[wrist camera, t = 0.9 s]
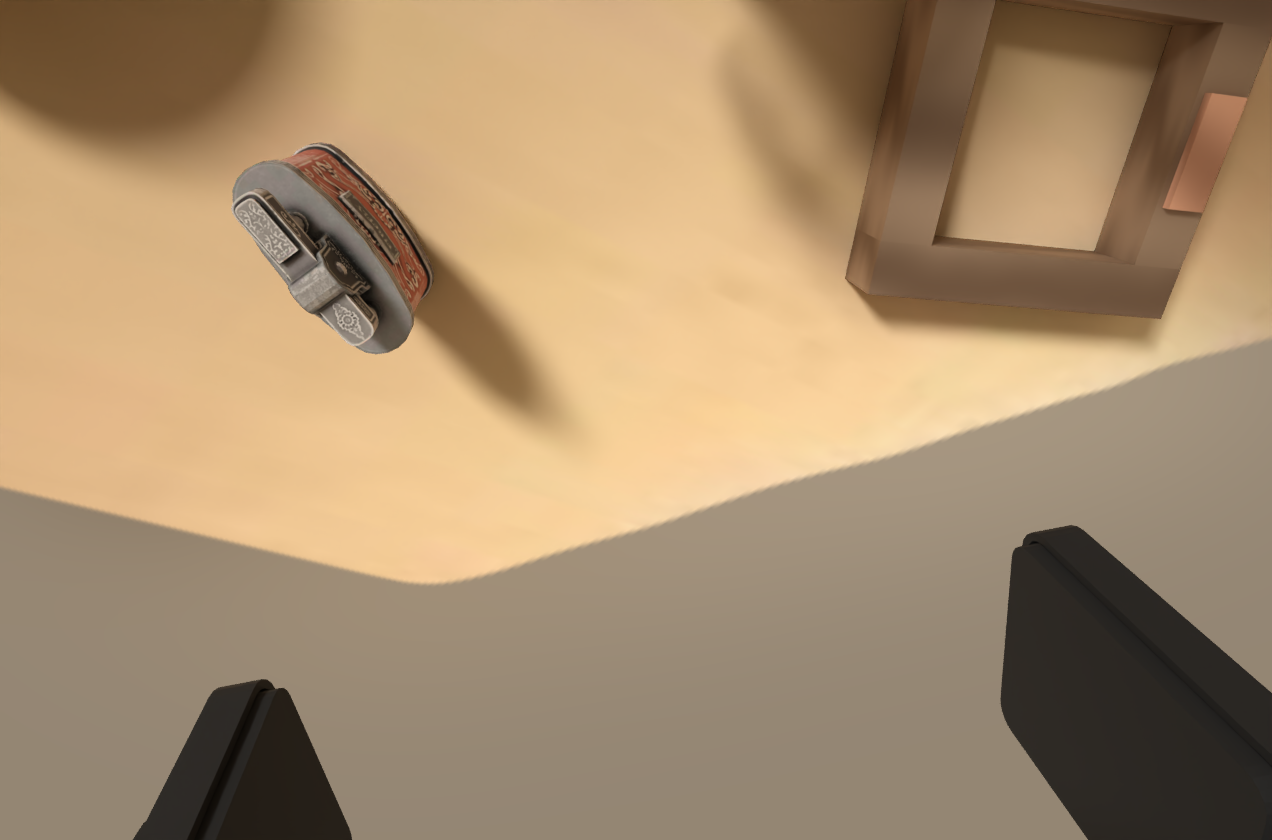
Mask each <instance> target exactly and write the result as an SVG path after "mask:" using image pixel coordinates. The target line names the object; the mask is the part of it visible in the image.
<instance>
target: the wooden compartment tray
mask: <svg viewBox="0 0 1272 840" xmlns="http://www.w3.org/2000/svg"><path fill="white" fill-rule="evenodd" d="M1003 1H1010V2H1017V3H1023V4H1030V5H1037V6H1044V7H1050V8H1057V9H1064V10H1071V11H1077V12H1084V13H1091V14H1098V15H1104V16H1111V17H1118V18H1125V19H1131V20H1138V21H1145V22H1152V23H1158V24H1165V25H1172V29H1171V32H1170V35H1169V38H1168V40H1167V43H1166V46H1165V49H1164V52H1163V55H1162V58H1161V61H1160V64H1159V66H1158V69H1157V72H1156V75H1155V78H1154V81H1153V84H1152V87H1151V90H1150V92H1149V95H1148V98H1147V101H1146V104H1145V107H1144V110H1143V113H1142V116H1141V118H1140V121H1139V124H1138V127H1137V130H1136V133H1135V136H1134V139H1133V142H1132V144H1131V147H1130V150H1129V153H1128V156H1127V159H1126V162H1125V165H1124V168H1123V170H1122V173H1121V176H1120V179H1119V182H1118V185H1117V188H1116V191H1115V194H1114V196H1113V199H1112V202H1111V205H1110V208H1109V211H1108V214H1107V217H1106V220H1105V222H1104V225H1103V228H1102V231H1101V234H1100V237H1099V240H1098V243H1097V246H1096V248H1095V251H1084V250H1073V249H1063V248H1053V247H1042V246H1032V245H1022V244H1012V243H1001V242H991V241H981V240H970V239H960V238H950V237H939V236H934V235H935V231H936V227H937V223H938V219H939V216H940V212H941V208H942V204H943V200H944V196H945V193H946V189H947V185H948V181H949V177H950V174H951V170H952V166H953V162H954V158H955V155H956V151H957V147H958V143H959V139H960V136H961V132H962V128H963V124H964V120H965V116H966V113H967V109H968V105H969V101H970V97H971V94H972V90H973V86H974V82H975V78H976V75H977V71H978V67H979V63H980V59H981V55H982V52H983V48H984V44H985V40H986V36H987V33H988V29H989V25H990V21H991V17H992V14H993V10H994V6H995V2H996V0H907V3H906V7H905V12H904V16H903V21H902V25H901V30H900V34H899V39H898V43H897V48H896V52H895V57H894V61H893V66H892V70H891V75H890V79H889V84H888V88H887V93H886V97H885V102H884V106H883V111H882V115H881V120H880V124H879V129H878V133H877V138H876V142H875V147H874V151H873V156H872V160H871V165H870V169H869V174H868V178H867V183H866V187H865V192H864V196H863V201H862V205H861V210H860V214H859V219H858V223H857V228H856V232H855V237H854V241H853V246H852V250H851V255H850V259H849V264H848V268H847V273H846V277H845V279H847V280H848V281H850V282H851V283H852V284H854V285H855V286H857V287H858V288H860V289H861V290H862V291H864V292H865V293H867V294H870V295H881V296H893V297H905V298H917V299H929V300H941V301H953V302H965V303H977V304H989V305H1001V306H1013V307H1025V308H1036V309H1048V310H1060V311H1072V312H1084V313H1096V314H1108V315H1120V316H1132V317H1144V318H1156V319H1161V317H1162V315H1163V312H1164V310H1165V307H1166V305H1167V302H1168V299H1169V297H1170V294H1171V292H1172V289H1173V287H1174V284H1175V282H1176V279H1177V277H1178V274H1179V271H1180V269H1181V266H1182V264H1183V261H1184V259H1185V256H1186V254H1187V251H1188V249H1189V246H1190V244H1191V241H1192V238H1193V236H1194V233H1195V231H1196V228H1197V226H1198V223H1199V221H1200V218H1201V216H1202V213H1203V211H1204V209H1205V206H1206V204H1207V201H1208V198H1209V196H1210V193H1211V191H1212V188H1213V186H1214V183H1215V181H1216V178H1217V176H1218V173H1219V171H1220V168H1221V165H1222V163H1223V160H1224V158H1225V155H1226V153H1227V150H1228V148H1229V145H1230V143H1231V140H1232V138H1233V135H1234V132H1235V130H1236V127H1237V125H1238V122H1239V120H1240V117H1241V115H1242V112H1243V110H1244V107H1245V104H1246V102H1247V99H1248V96H1249V94H1250V91H1251V88H1252V86H1253V83H1254V81H1255V78H1256V76H1257V73H1258V71H1259V68H1260V66H1261V63H1262V61H1263V58H1264V55H1265V53H1266V50H1267V48H1268V45H1269V43H1270V40H1271V38H1272V0H1003Z"/></svg>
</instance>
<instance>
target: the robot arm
mask: <svg viewBox="0 0 1272 840" xmlns="http://www.w3.org/2000/svg"><path fill="white" fill-rule="evenodd" d="M1001 707H1002V712H1003V715H1004V718H1005V720H1006V722H1007V725H1008V726H1009V728H1010V729H1011V731H1012V733H1013V734H1014V735H1015V737H1016V738H1017V740H1018V741H1019V742H1020V744H1021V745H1022V747H1023V748H1024V750H1026V752H1027V754H1028V755H1029V757H1030V758H1031V759H1032V761H1033V762H1034V764H1035V765H1036V767H1037V768H1038V769H1039V771H1040V772H1041V774H1042V775H1043V776H1044V778H1045V779H1046V781H1047V782H1048V784H1049V785H1050V786H1051V788H1052V789H1053V791H1054V792H1055V793H1056V795H1057V796H1058V798H1059V799H1060V800H1061V802H1062V803H1063V805H1064V806H1065V808H1066V809H1067V810H1068V812H1069V813H1070V815H1071V816H1072V817H1073V819H1074V820H1075V822H1076V823H1077V825H1078V826H1079V827H1080V829H1081V830H1082V832H1083V833H1084V835H1085V836H1086V837H1087V839H1088V840H1272V693H1271V692H1270V691H1269V690H1267V689H1266V688H1265V687H1264V686H1263V685H1261V683H1259V682H1258V681H1257V680H1256V679H1255V678H1253V676H1251V675H1250V674H1249V673H1248V672H1247V671H1245V670H1244V669H1243V668H1242V667H1241V666H1240V665H1239V664H1237V663H1236V662H1235V661H1234V660H1233V659H1232V658H1231V657H1229V656H1228V655H1227V654H1226V653H1225V652H1223V651H1222V650H1221V649H1220V648H1219V647H1218V646H1217V645H1216V644H1214V643H1213V642H1212V641H1211V640H1210V639H1209V638H1207V637H1206V636H1205V635H1204V634H1203V633H1202V632H1200V631H1199V630H1198V629H1197V628H1196V627H1194V626H1193V625H1192V624H1191V623H1190V622H1189V621H1188V620H1186V619H1185V618H1184V617H1183V616H1182V615H1181V614H1180V613H1178V612H1177V611H1176V610H1175V609H1174V608H1173V607H1171V606H1170V605H1169V604H1168V603H1167V602H1166V601H1165V600H1163V599H1162V598H1161V597H1160V596H1159V595H1158V594H1157V593H1155V592H1154V591H1153V590H1152V589H1151V588H1150V587H1148V586H1147V585H1146V584H1145V583H1144V582H1143V581H1142V580H1140V579H1139V578H1138V577H1137V576H1136V575H1135V574H1133V573H1132V572H1131V571H1130V570H1129V569H1128V568H1126V567H1125V566H1124V565H1123V564H1122V563H1121V562H1120V561H1118V560H1117V559H1116V558H1115V557H1114V556H1113V555H1111V554H1110V553H1109V552H1108V551H1107V550H1106V549H1104V548H1103V547H1102V546H1101V545H1100V544H1099V543H1098V542H1096V541H1095V540H1094V539H1093V538H1092V537H1091V536H1089V535H1088V534H1087V533H1086V532H1085V531H1084V530H1082V529H1081V528H1079V527H1077V526H1072V525H1070V526H1065V527H1059V528H1054V529H1049V530H1043V531H1039V532H1033V533H1030V534H1028V535H1026V537H1025V538H1024V540H1023V545H1022V546H1021V547H1018V548H1015V550H1014V551H1013V555H1012V564H1011V576H1010V588H1009V600H1008V614H1007V625H1006V638H1005V650H1004V663H1003V675H1002V687H1001ZM133 840H352V837H351V833H350V830H349V827H348V825H347V822H346V820H345V818H344V816H343V813H342V811H341V809H340V807H339V804H338V802H337V800H336V798H335V795H334V793H333V791H332V789H331V787H330V784H329V782H328V780H327V778H326V775H325V773H324V771H323V769H322V766H321V764H320V762H319V759H318V757H317V755H316V753H315V750H314V748H313V746H312V743H311V741H310V739H309V737H308V734H307V732H306V730H305V728H304V725H303V723H302V721H301V719H300V716H299V714H298V712H297V710H296V707H295V705H294V703H293V701H292V699H291V696H290V695H289V693H288V691H287V690H286V689H284V688H278V689H275V688H274V686H273V685H272V683H271V682H269V681H268V680H264V679H261V680H256V681H251V682H246V683H240V684H235V685H230V686H225V687H220V688H217V689H216V690H214V691H213V692H212V694H211V695H210V697H209V698H208V700H207V702H206V704H205V706H204V708H203V710H202V712H201V714H200V716H199V718H198V720H197V722H196V724H195V726H194V728H193V730H192V732H191V734H190V736H189V738H188V740H187V742H186V744H185V746H184V748H183V750H182V751H181V753H180V755H179V757H178V760H177V761H176V763H175V766H174V767H173V769H172V771H171V773H170V775H169V777H168V779H167V781H166V783H165V785H164V787H163V789H162V791H161V793H160V795H159V797H158V799H157V801H156V803H155V805H154V807H153V809H152V811H151V813H150V815H149V817H148V819H147V821H146V822H145V823H143V825H142V826H141V828H140V829H139V831H138V832H137V834H136V835H135V837H134V839H133Z"/></svg>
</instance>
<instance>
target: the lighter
mask: <svg viewBox="0 0 1272 840" xmlns="http://www.w3.org/2000/svg"><path fill="white" fill-rule="evenodd" d="M231 209H232V213H233V215H234V217H235V218H236V219H237V221H238V222H239V223H240V224H241V225H242V226H243V227H244V229H245V230H246V231H247V232H248V233H249V234H250V235H251V236H252V238H253V239H254V241H255V242H256V244H257V246H258V247H259V249H260V250H261V252H262V253H263V254H264V256H265V257H266V258H267V260H268V261H269V262H270V263H271V265H272V266H273V267H274V268H275V270H276V271H277V272H278V273H279V275H280V276H281V277H282V279H283V280H284V281H285V282H286V284H287V285H288V289H289V291H290V293H291V295H292V296H293V298H294V299H295V300H296V301H297V302H298V303H299V304H300V306H301V307H302V308H303V309H305V310H306V311H307V312H309V313H311V314H315V315H316V316H318V317H319V318H321V319H322V320H323V321H324V322H325V323H326V324H327V325H329V326H330V327H331V328H332V329H334V330H335V331H336V332H337V333H338V334H339V335H340V336H341V337H342V339H343V340H344V341H346V342H347V343H348V344H350V345H352V346H355V347H356V348H358V349H360V350H362V351H364V352H366V353H372V354H382V353H388V352H390V351H392V350H394V349H396V348H398V347H399V346H400V345H401V344H402V343H404V342H405V341H406V339H407V337H408V335H409V333H410V331H411V329H412V327H413V325H414V312H415V310H416V308H417V306H418V304H419V302H420V301H421V300H422V299H423V298H424V297H425V296H426V295H427V294H428V292H429V290H430V288H431V286H432V284H433V280H434V271H433V268H432V265H431V263H430V261H429V259H428V257H427V255H426V253H425V252H424V250H423V248H422V246H421V244H420V242H419V240H418V239H417V237H416V235H415V233H414V232H413V230H412V229H411V228H410V226H409V225H408V223H407V222H406V220H405V219H404V217H403V216H402V214H401V213H400V212H399V210H398V209H397V207H396V206H395V204H394V203H393V202H392V201H391V200H390V199H389V198H388V196H387V195H386V194H385V193H384V192H383V191H382V190H381V189H380V188H379V186H378V185H377V184H376V183H375V182H374V181H373V180H372V179H371V178H370V176H369V175H368V174H367V173H365V172H364V171H363V170H362V169H361V168H360V167H359V166H358V165H357V164H355V163H354V162H353V161H352V160H351V159H350V158H349V157H348V156H347V155H345V154H344V153H343V152H342V151H341V150H340V149H338V148H337V147H335V146H333V145H332V144H327V143H322V142H321V143H313V144H309V145H307V146H304V147H303V148H301V149H299V150H297V151H296V152H295V153H294V154H293V155H292V156H291V157H288V158H286V159H283V160H281V161H279V160H270V161H263V162H260V163H258V164H255V165H253V166H252V167H250V168H248V169H246V170H245V171H244V172H243V173H242V174H241V175H240V176H239V177H238V178H237V180H236V183H235V185H234V188H233V204H232V208H231Z"/></svg>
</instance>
